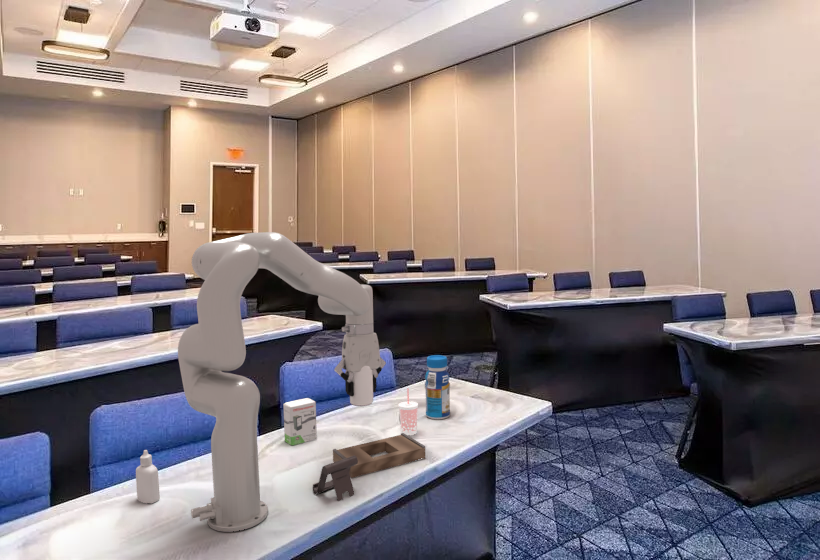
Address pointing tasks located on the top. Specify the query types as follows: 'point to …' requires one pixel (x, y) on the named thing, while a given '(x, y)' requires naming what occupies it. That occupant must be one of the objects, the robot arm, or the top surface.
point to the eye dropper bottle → (147, 480)
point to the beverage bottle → (437, 388)
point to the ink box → (300, 421)
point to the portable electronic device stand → (337, 477)
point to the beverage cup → (408, 416)
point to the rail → (398, 453)
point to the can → (362, 387)
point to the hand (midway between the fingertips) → (361, 392)
